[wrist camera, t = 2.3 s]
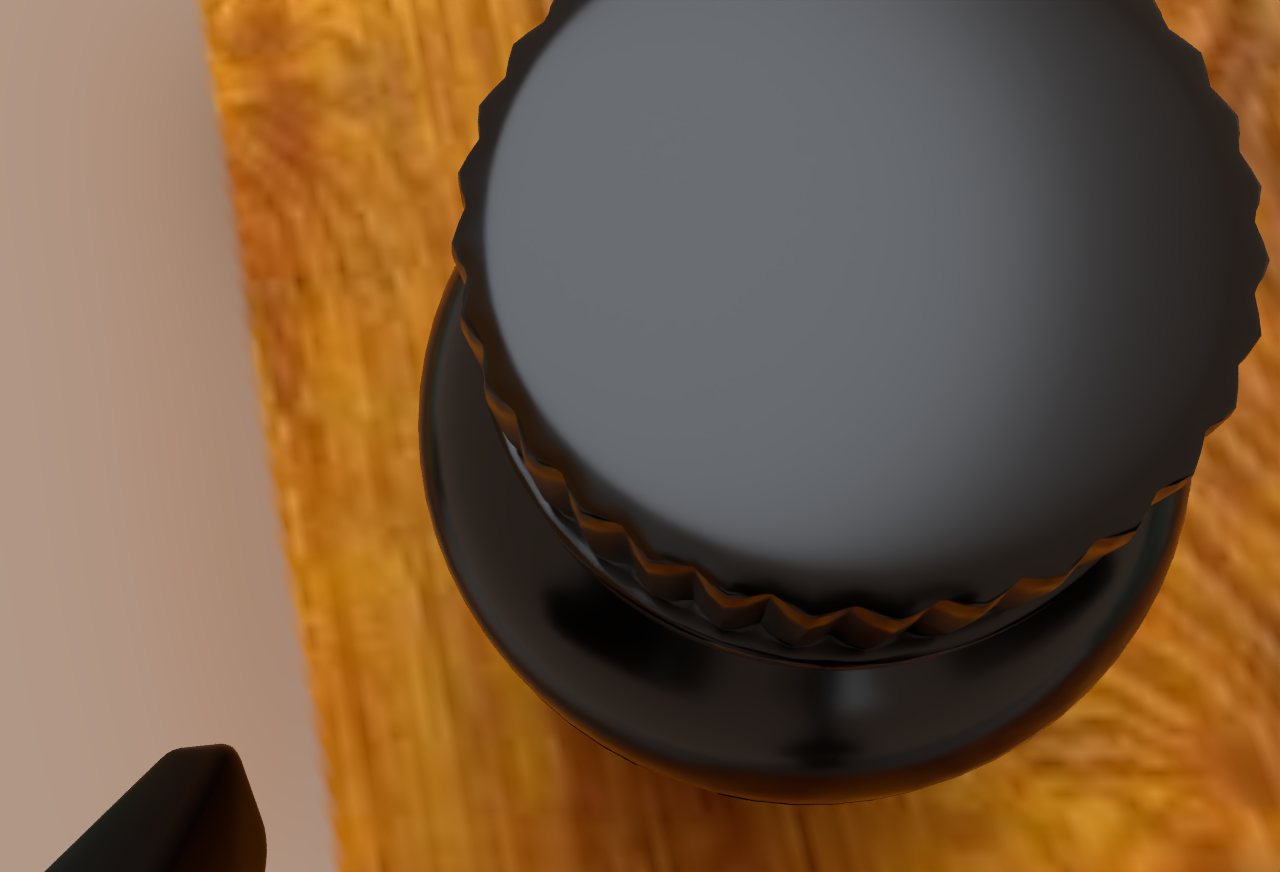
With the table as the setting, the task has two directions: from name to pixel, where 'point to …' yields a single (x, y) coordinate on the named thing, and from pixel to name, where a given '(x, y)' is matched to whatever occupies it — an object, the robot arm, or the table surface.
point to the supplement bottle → (833, 372)
